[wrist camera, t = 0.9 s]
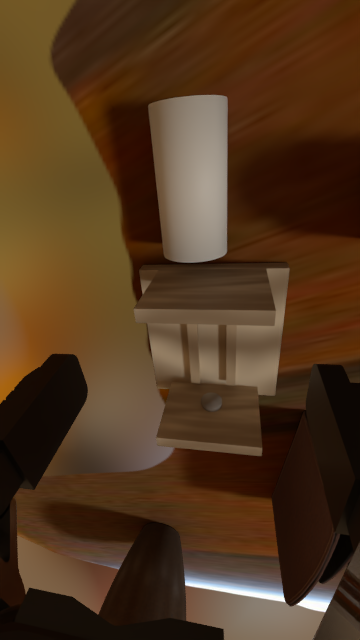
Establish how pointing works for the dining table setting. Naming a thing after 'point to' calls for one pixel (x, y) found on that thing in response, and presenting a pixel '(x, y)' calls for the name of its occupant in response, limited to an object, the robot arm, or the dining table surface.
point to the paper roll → (191, 175)
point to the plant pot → (148, 580)
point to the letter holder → (305, 522)
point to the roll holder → (214, 349)
